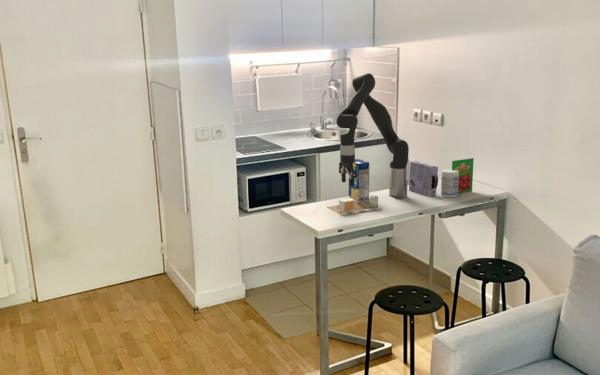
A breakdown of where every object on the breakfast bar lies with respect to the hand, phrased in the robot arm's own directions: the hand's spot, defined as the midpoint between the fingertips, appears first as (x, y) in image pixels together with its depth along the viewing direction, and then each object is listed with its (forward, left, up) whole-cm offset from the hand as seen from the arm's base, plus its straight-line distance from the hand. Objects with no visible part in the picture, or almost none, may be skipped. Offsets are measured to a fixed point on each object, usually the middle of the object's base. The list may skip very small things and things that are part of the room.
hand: (347, 183), depth 336 cm
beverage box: (-19, -20, -16) cm, 32 cm away
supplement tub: (-67, -1, -16) cm, 69 cm away
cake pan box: (-58, -13, -16) cm, 61 cm away
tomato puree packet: (-77, -2, -16) cm, 79 cm away
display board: (-6, -3, -16) cm, 17 cm away
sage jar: (-15, +1, -15) cm, 21 cm away
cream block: (0, 0, -15) cm, 15 cm away
